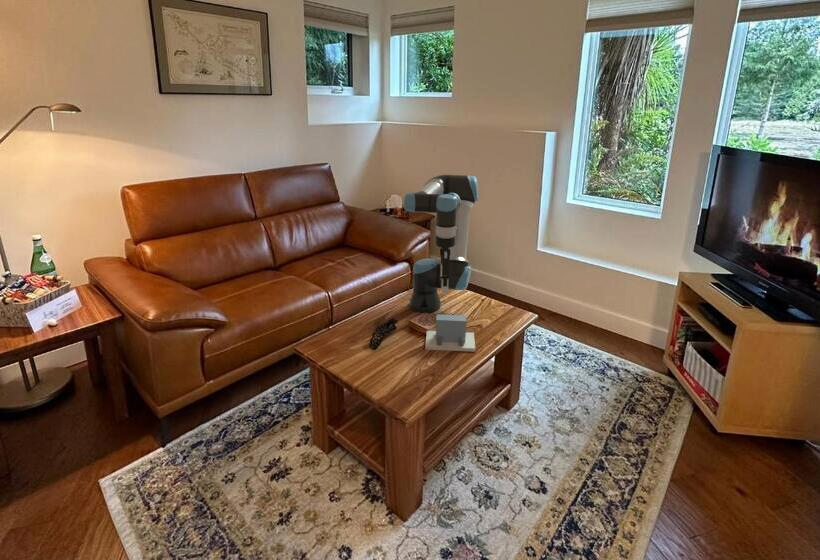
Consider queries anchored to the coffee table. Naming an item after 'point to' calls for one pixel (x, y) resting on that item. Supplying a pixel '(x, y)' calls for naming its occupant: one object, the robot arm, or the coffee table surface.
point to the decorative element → (382, 333)
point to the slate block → (451, 327)
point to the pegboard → (450, 343)
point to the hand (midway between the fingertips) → (444, 285)
